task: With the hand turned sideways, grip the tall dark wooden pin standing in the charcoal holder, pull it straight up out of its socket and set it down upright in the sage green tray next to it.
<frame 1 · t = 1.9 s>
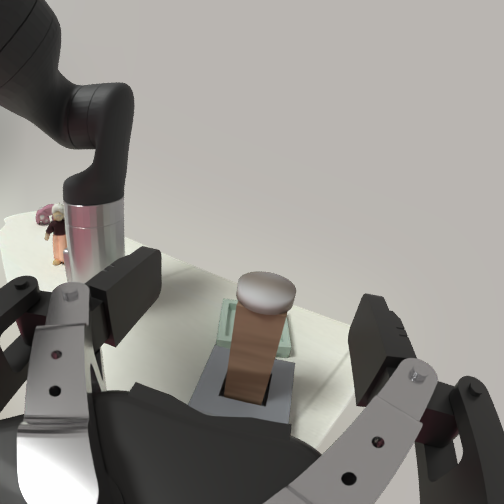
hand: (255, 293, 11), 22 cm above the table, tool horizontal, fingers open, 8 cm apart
video game controller: (50, 223, 67), on the table
dark wooden pin: (243, 397, 29), resting on charcoal holder
sage green tray: (252, 331, 41), on the table
charcoal holder: (243, 399, 29), on the table
grandmother figurine: (64, 262, 50), on the table
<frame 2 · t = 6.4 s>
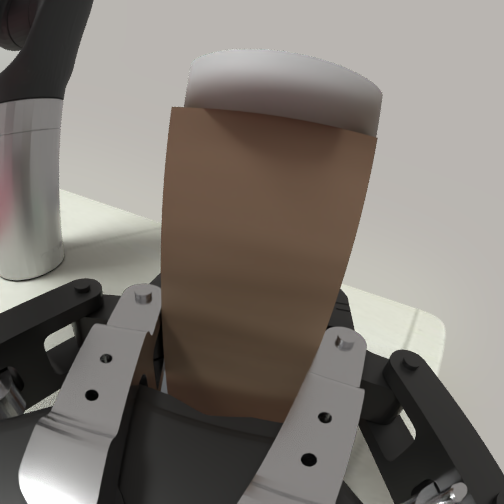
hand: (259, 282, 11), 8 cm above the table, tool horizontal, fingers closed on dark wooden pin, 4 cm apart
dark wooden pin: (226, 438, 12), point 1 cm above the table, touching charcoal holder, gripper
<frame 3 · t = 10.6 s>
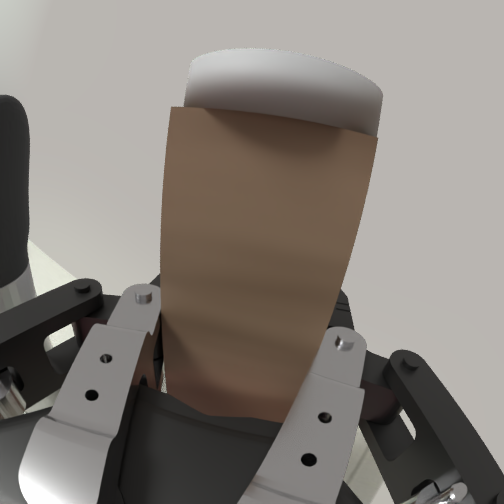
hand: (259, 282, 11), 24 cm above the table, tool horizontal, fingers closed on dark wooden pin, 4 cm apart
dark wooden pin: (226, 439, 12), point 16 cm above the table, touching gripper
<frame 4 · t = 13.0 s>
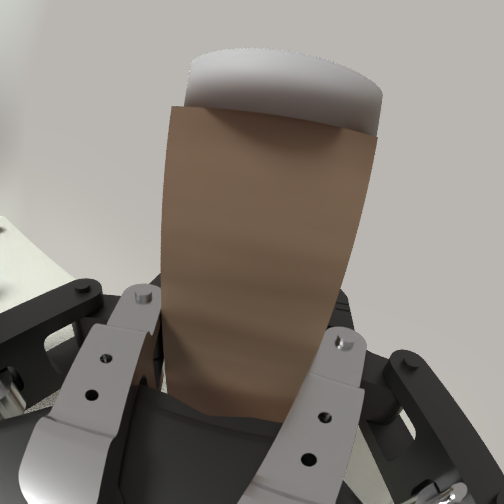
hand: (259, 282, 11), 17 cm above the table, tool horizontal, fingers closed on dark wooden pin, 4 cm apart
dark wooden pin: (226, 438, 12), point 9 cm above the table, touching gripper
when the fingers open (10 cm above the table, at t = 15.0 s): dark wooden pin drops 1 cm, resting on sage green tray.
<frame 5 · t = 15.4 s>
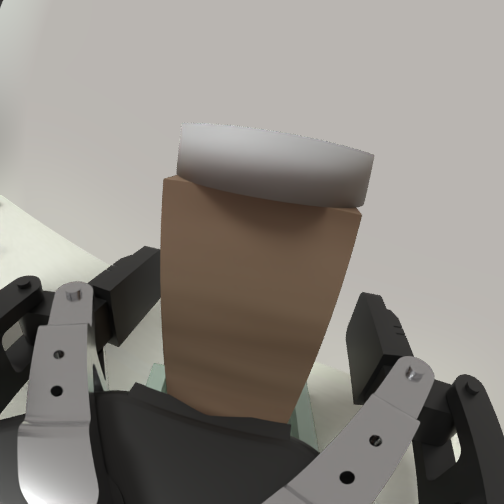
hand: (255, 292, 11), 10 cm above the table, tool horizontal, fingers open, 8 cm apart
dark wooden pin: (224, 450, 13), point 1 cm above the table, touching sage green tray
sage green tray: (222, 455, 13), on the table
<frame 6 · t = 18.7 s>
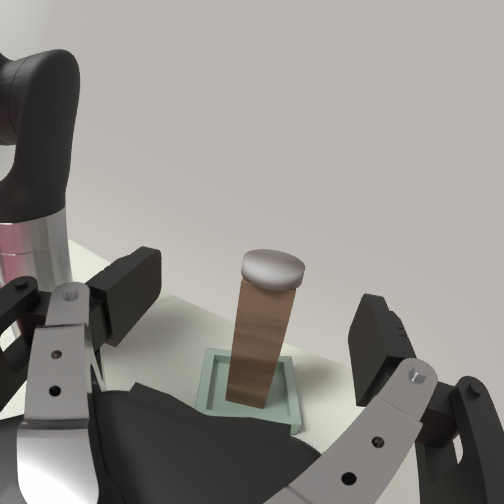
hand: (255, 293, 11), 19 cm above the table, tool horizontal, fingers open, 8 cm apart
dark wooden pin: (248, 391, 27), point 1 cm above the table, touching sage green tray
sage green tray: (246, 395, 28), on the table
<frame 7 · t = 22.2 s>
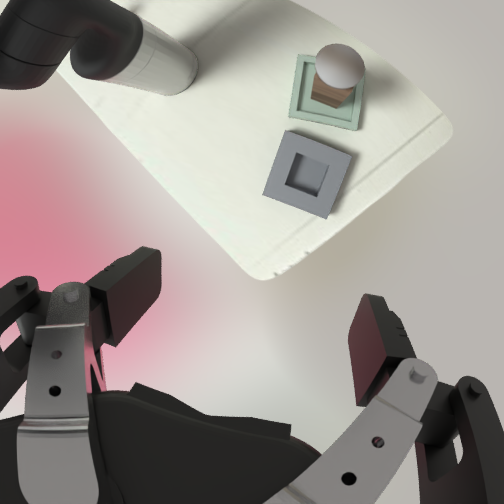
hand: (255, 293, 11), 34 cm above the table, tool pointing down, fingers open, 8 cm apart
dark wooden pin: (327, 92, 35), point 1 cm above the table, touching sage green tray
sage green tray: (326, 92, 36), on the table
charcoal holder: (306, 173, 41), on the table
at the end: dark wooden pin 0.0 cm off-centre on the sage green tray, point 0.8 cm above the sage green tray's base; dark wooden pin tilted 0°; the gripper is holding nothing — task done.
